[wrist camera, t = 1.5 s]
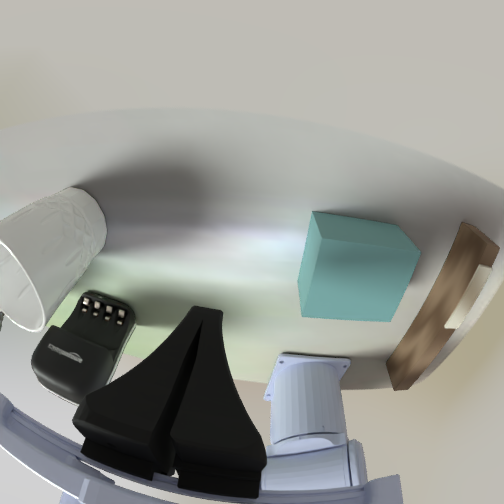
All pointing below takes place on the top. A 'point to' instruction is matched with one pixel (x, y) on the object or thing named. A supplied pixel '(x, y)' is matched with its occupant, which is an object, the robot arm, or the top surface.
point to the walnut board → (444, 305)
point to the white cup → (47, 254)
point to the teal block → (354, 268)
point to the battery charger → (84, 348)
